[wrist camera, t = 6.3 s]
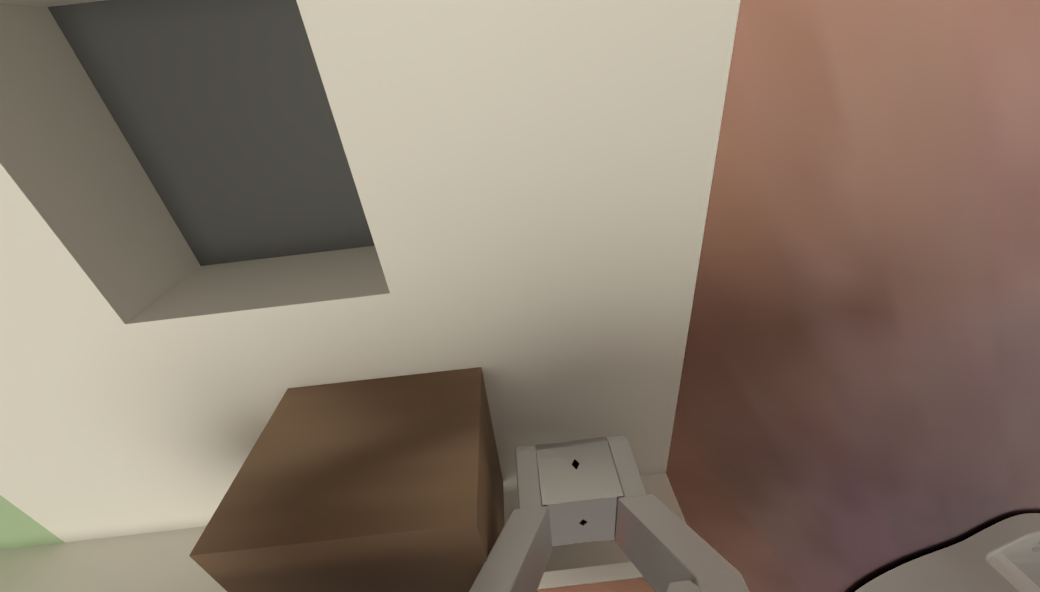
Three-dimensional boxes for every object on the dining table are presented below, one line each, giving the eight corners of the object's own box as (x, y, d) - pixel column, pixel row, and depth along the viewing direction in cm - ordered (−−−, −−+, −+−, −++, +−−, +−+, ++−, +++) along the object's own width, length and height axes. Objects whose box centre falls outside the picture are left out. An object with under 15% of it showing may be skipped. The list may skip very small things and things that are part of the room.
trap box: (682, -133, 8) (962, -390, 3) (636, 421, 16) (694, 571, 12) (-743, 34, 8) (-2525, 23, 3) (-47, 500, 16) (-260, 681, 12)
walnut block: (481, 367, 10) (476, 523, 7) (503, 482, 13) (507, 636, 10) (287, 388, 10) (188, 556, 7) (349, 499, 13) (299, 659, 10)
